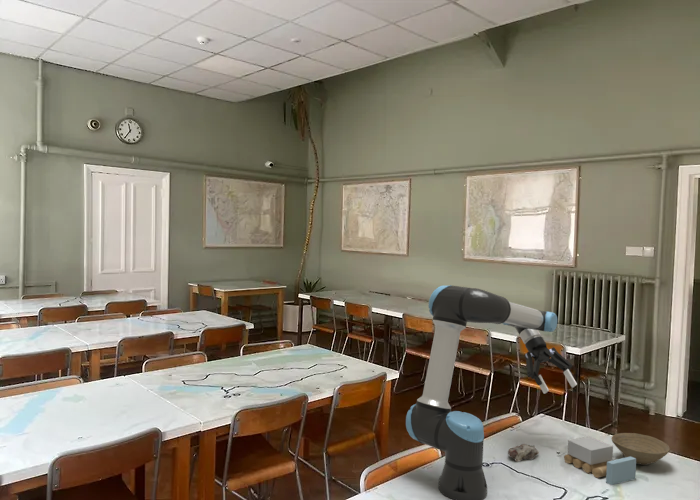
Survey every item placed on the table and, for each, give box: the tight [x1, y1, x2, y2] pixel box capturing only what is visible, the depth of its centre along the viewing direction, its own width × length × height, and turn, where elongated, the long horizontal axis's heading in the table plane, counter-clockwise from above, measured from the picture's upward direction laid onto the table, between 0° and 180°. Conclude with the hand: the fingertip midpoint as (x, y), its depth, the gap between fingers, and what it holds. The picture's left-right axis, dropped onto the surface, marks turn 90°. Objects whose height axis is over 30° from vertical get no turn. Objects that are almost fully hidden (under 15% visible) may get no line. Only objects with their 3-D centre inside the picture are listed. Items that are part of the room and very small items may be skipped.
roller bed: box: [563, 454, 613, 478], centre depth 183 cm, size 12×15×3 cm
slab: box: [566, 435, 614, 465], centre depth 184 cm, size 11×10×5 cm
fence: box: [605, 456, 637, 486], centre depth 173 cm, size 12×2×7 cm, turn 115°
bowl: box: [611, 432, 671, 466], centre depth 188 cm, size 18×18×8 cm
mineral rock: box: [507, 443, 540, 463], centre depth 190 cm, size 15×8×4 cm, turn 111°
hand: (560, 389), depth 194 cm, fingers open, 13 cm apart
